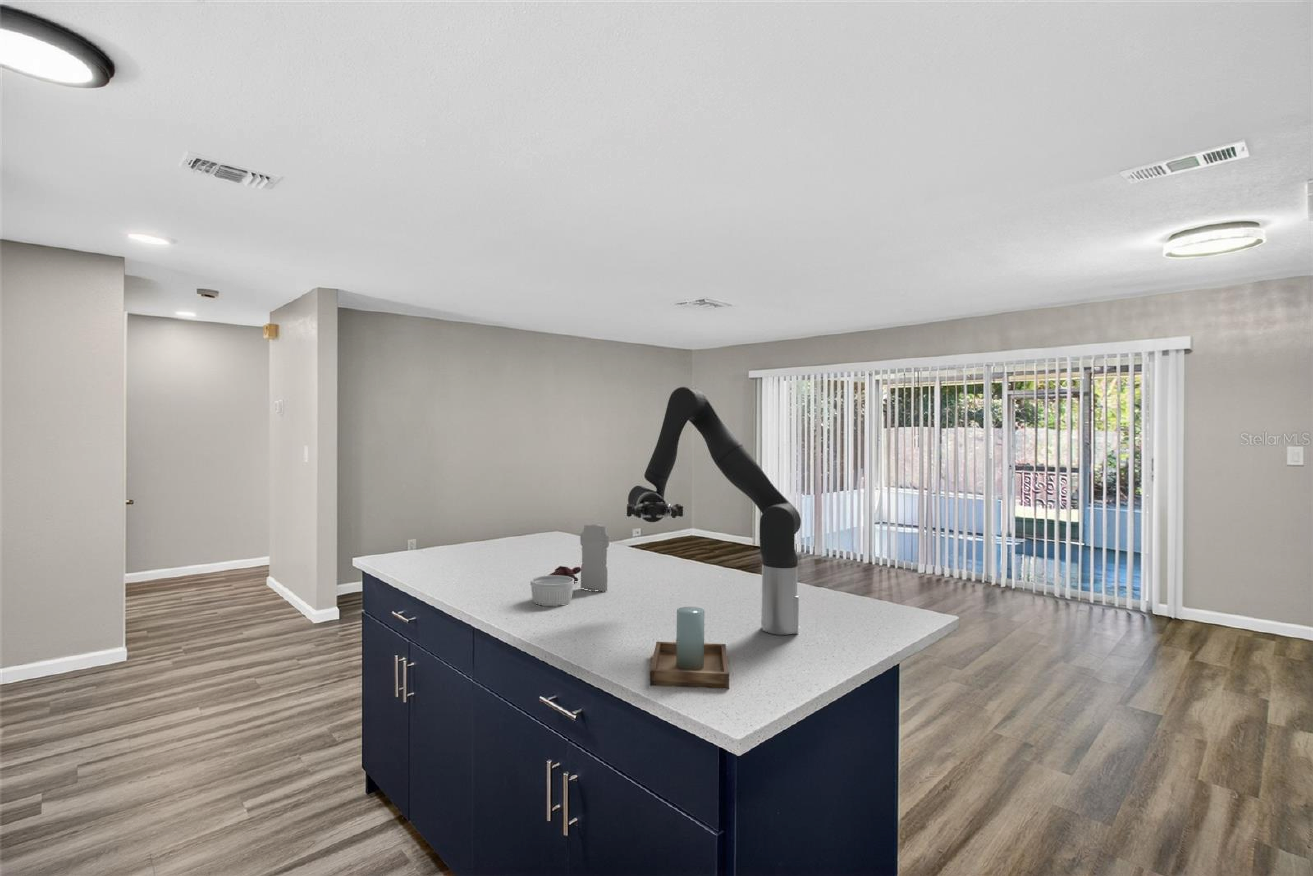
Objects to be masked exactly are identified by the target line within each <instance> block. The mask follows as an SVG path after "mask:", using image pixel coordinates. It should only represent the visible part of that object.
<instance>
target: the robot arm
mask: <svg viewBox="0 0 1313 876" xmlns="http://www.w3.org/2000/svg"><path fill="white" fill-rule="evenodd" d="M688 422H690V423H691V424H692V425H693V426H694V427H695V428H696V430H697V431H698V432H699V433H700V435H701V436H702V438H703V440H704V441H705V443H706V446H707V450H708V452H709V454H710V457H711V459H712V460H713V462H714V464H715V465H716V467H717V468H718V469H719V470H720V472H721V473H722V475H723V476H725V478H726V479H727V480H728V481H729V482H730V483H731V484H732V485H733V486H734V487H736V488H737V489H738V490H739V491H741V492H742V493H743V494H744V495H746V497H748V498H749V499H750V500H751V501H752V502H753V503H754V504H755V506H756V507H757V508H758V510H759V512H761V516H760V520H759V551H760V552H759V553H760V556H761V562H762V563H761V564H762V565H761V619H760V620H761V630H762V631H763V632H765V633H767V634H768V633H769V634H770V635H771V634H772V635H777V636H778V635H780V636H781V635H782V636H784V635H787V636H788V635H793V634H799V607H800V606H799V601H800V597H799V596H798V570H799V568H798V566H799V564H798V562H799V560H798V559H799V558H798V555H797V554H796V548H795V547H796V544H795V542H796V541H795V540H796V538H795V535H796V534H797V533H798V532H799V530H800V528H801V524H802V520H801V516H800V515H801V514H800V513H799V511H798V510H797V508H796V507H795V506H794V505H793V504H792V503H791V502H790V501H789V500H788V499H787V498H786V497H785V496H784V495H783V494H782V493H781V492H780V491H779V490H778V489H777V488H776V487H775V486H774V484H773V482H771V480H770V479H769V477H768V476H767V475H766V474H765V472H764V471H763V469H762V468H761V466H760V465H759V464H758V463H757V462H756V460H755V459H754V458H753V456H752V455H751V453H750V452H749V451H748V450H747V449H746V447H745V446H744V444H743V443H742V442H741V441H740V440H739V439H738V438H737V436H736V435H735V434H734V432H732V431H731V429H730V428H729V426H727V425H726V424H725V423H724V421H723V420H722V419H721V417H720V416H719V415H718V413H717V412H716V410H715V409H714V406H713V405H712V404H711V402H710V401H709V399H708V397H707V396H706V395H705V393H704V392H702V391H701V390H700V389H697V388H693V387H688V386H680V387H677V388H676V389H674V390H673V391H672V392H671V394H670V396H669V399H668V402H667V405H666V409H665V414H664V418H663V422H662V426H661V429H660V432H659V436H658V440H657V441H656V445H655V448H654V450H653V453H652V455H651V457H650V460H649V462H648V464H647V467H646V469H645V472H644V473H643V474H644V479H645V480H646V481H647V482H648V483H650V484H651V485H652V486H654V488H655V489H656V490H653V489H650V488H647V487H645V486H642V485H636V486H633V488H632V489H631V490H630V491H629V493H628V497H627V504H626V517H628V518H629V517H632V516H634V517H635V518H638V519H641V518H642V520H644V521H646V522H648V523H656V522H657V523H658V522H659V521H661V520H662V519H663V518H666V519H667V518H672V519H676V517H680V518H681V517H684V506H683V505H682V504H679V503H676V504H674V505H671V503H667V502H666V501H665V493H666V492H665V491H666V486H667V483H668V481H669V478H670V475H671V474H672V471H673V469H674V467H675V463H676V460H677V456H678V446H679V441H680V437H681V435H682V432H683V430H684V428H685V427H686V424H687V423H688Z"/></svg>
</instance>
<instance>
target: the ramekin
mask: <svg viewBox="0 0 1313 876" xmlns="http://www.w3.org/2000/svg"><path fill="white" fill-rule="evenodd" d="M529 584H530V586H531V588H530V589H531V596H532V597H531V598H532V602H534V604H535V605H537V604H538V605H537V606H540V605H542V606H541V607H548V606H553V607H558V606H557V605H562V604H566V605H567V603H568V604H570V602H571V601H572V598H573V592H574V591H573V590H574V585H575V583H574V579H573V578H571V577H568V576H560V575H549V574H548V575H540V576H535V577H533V578H531V579H530V583H529ZM562 606H563V605H562Z"/></svg>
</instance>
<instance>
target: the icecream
mask: <svg viewBox="0 0 1313 876" xmlns="http://www.w3.org/2000/svg"><path fill="white" fill-rule="evenodd" d="M579 573H581V567H580V566H575V567H573V568H572V569H571V568H570V567H568V566H563V565H562V566H561V565H560V566H558V567H556V568H555V569H554V572H552V573H549V574H548V575H560V576H568V577H571V578H573V579H574V582H575V581H577V582H578V581H579V578H578V577H576V576H575V575H577V574H579Z"/></svg>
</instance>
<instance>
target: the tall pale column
mask: <svg viewBox="0 0 1313 876" xmlns="http://www.w3.org/2000/svg"><path fill="white" fill-rule="evenodd" d="M583 525H584V526H583V530H582V532H581V533H580V538H579V539H580V540H579V541H580V545H581V567H580V568H581V571H580V589H581V588H584V589H588V590H591V591H590V592H592V591H595V590H598V591H607V592H608V566H607V564H608V562H607V561H608V548H609V547H610V536H609V535H608V533H607V530H606V526H605V525H602V524H597V523H589V524H583ZM595 592H596V591H595Z"/></svg>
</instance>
